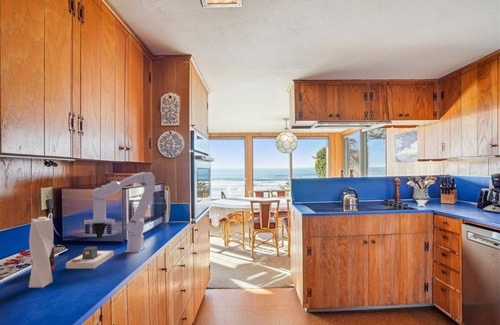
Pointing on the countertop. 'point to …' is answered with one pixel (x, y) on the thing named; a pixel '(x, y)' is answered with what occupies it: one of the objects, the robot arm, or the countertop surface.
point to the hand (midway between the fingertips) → (99, 237)
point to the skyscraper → (41, 251)
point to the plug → (89, 253)
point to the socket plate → (90, 260)
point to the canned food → (51, 257)
